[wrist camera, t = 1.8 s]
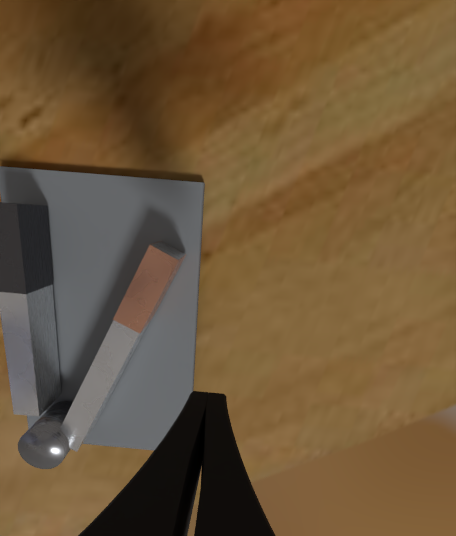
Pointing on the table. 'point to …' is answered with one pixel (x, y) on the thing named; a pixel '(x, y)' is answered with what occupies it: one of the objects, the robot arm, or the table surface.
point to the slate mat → (119, 289)
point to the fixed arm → (28, 307)
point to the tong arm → (103, 363)
